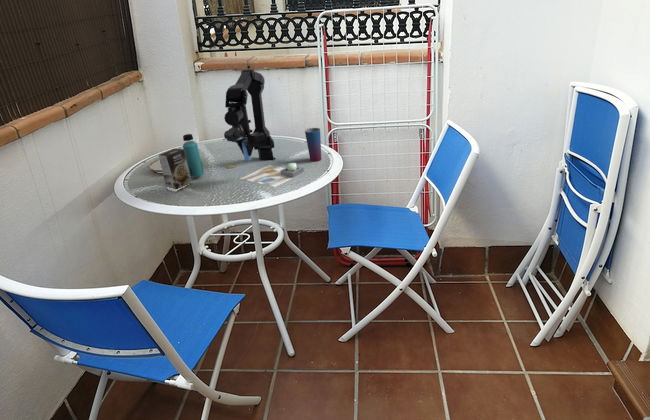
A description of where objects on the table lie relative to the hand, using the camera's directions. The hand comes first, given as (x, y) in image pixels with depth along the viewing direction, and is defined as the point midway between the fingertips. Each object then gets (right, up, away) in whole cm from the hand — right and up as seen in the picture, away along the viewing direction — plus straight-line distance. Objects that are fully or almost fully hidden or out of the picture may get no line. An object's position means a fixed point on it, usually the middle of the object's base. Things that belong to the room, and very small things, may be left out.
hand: (247, 155), depth 203 cm
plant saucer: (-39, -2, +32) cm, 51 cm away
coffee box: (-30, -13, +6) cm, 33 cm away
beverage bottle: (-25, -9, +14) cm, 30 cm away
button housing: (+19, -7, +4) cm, 21 cm away
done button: (+19, -6, +4) cm, 20 cm away
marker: (0, -2, +1) cm, 2 cm away
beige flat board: (+10, -9, +5) cm, 14 cm away
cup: (+29, -1, +18) cm, 33 cm away
